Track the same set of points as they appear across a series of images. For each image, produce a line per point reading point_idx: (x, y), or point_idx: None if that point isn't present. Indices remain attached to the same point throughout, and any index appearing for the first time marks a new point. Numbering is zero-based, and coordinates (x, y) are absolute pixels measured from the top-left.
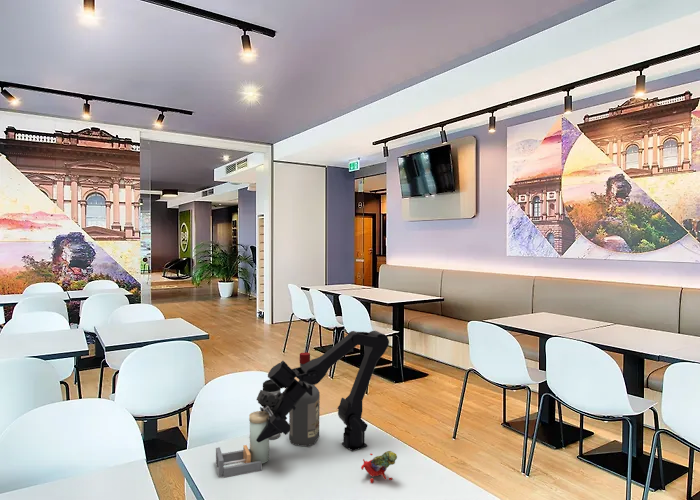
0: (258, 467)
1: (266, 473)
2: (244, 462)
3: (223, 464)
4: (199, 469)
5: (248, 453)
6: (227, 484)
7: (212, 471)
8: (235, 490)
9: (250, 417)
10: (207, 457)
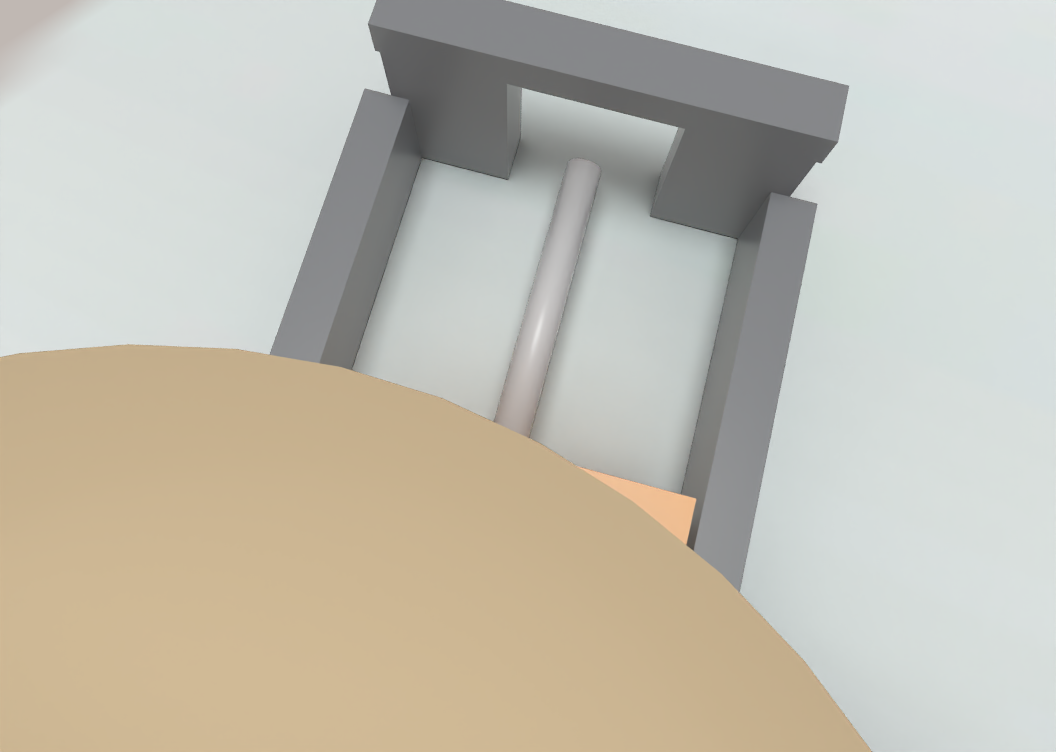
0: None
1: None
2: None
3: (384, 64)
4: (730, 13)
5: None
6: (219, 124)
7: None
8: (43, 141)
9: (129, 353)
10: (975, 178)
